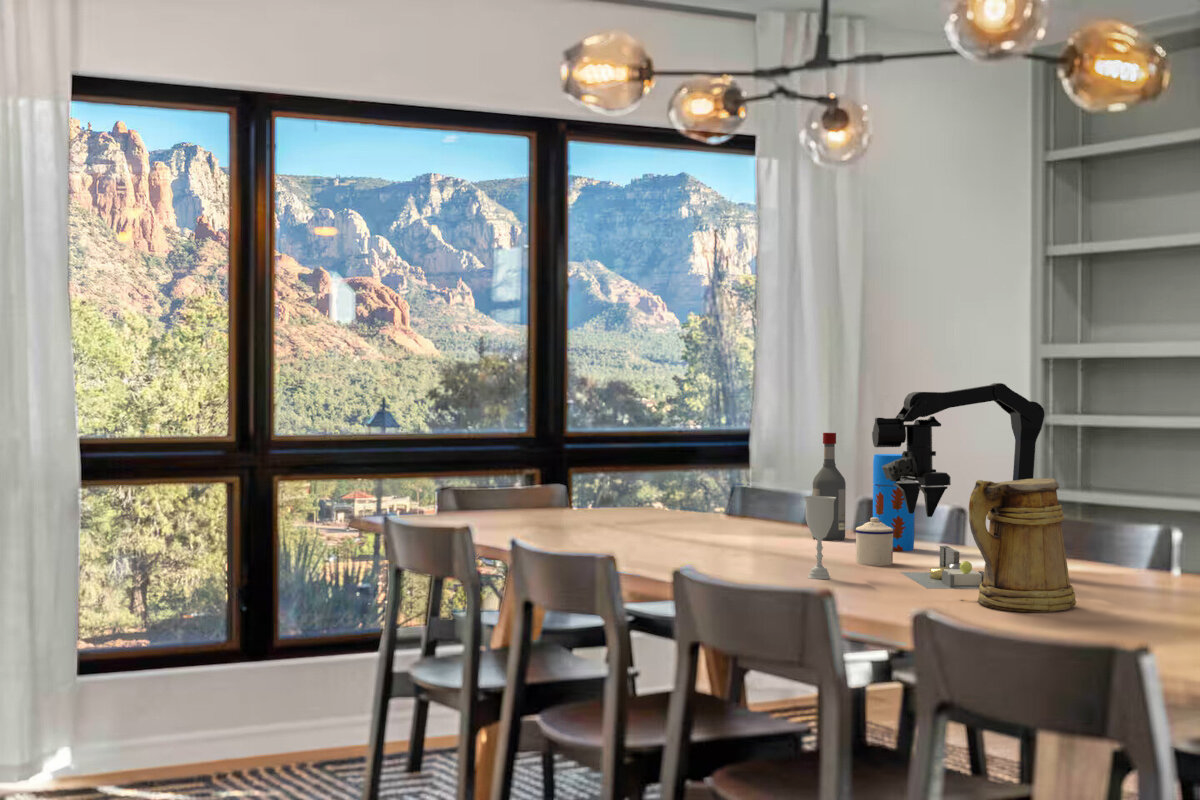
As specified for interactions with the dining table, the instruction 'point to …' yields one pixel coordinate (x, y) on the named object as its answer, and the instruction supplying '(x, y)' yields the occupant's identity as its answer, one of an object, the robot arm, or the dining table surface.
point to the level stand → (931, 583)
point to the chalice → (819, 528)
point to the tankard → (1021, 545)
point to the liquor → (832, 487)
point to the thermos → (892, 505)
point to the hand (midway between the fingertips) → (920, 515)
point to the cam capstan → (945, 562)
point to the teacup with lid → (874, 544)
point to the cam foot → (965, 575)
